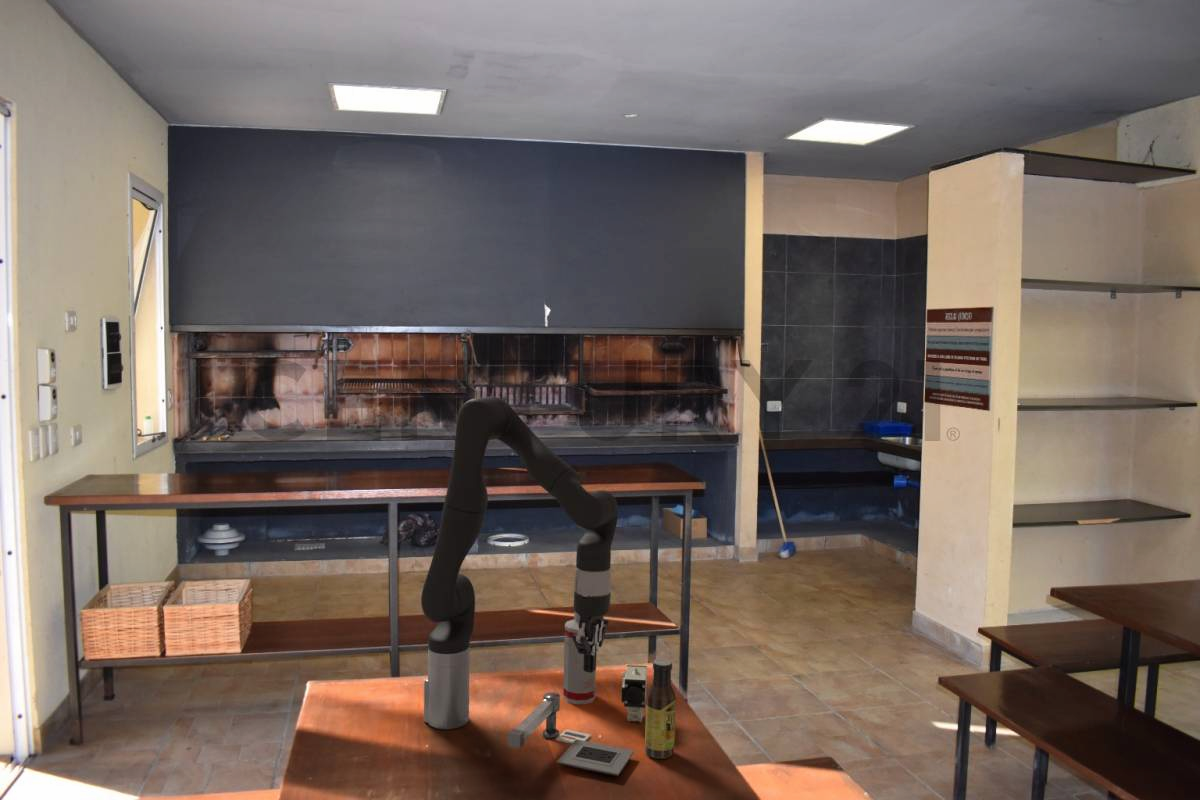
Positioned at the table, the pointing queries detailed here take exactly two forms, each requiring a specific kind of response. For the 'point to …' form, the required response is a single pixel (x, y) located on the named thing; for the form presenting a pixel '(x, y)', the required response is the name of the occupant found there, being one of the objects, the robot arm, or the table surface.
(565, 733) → the label plate
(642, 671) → the pneumatic valve
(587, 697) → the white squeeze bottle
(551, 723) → the arm post
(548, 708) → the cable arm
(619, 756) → the electrical outlet
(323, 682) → the table surface
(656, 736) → the sauce bottle
